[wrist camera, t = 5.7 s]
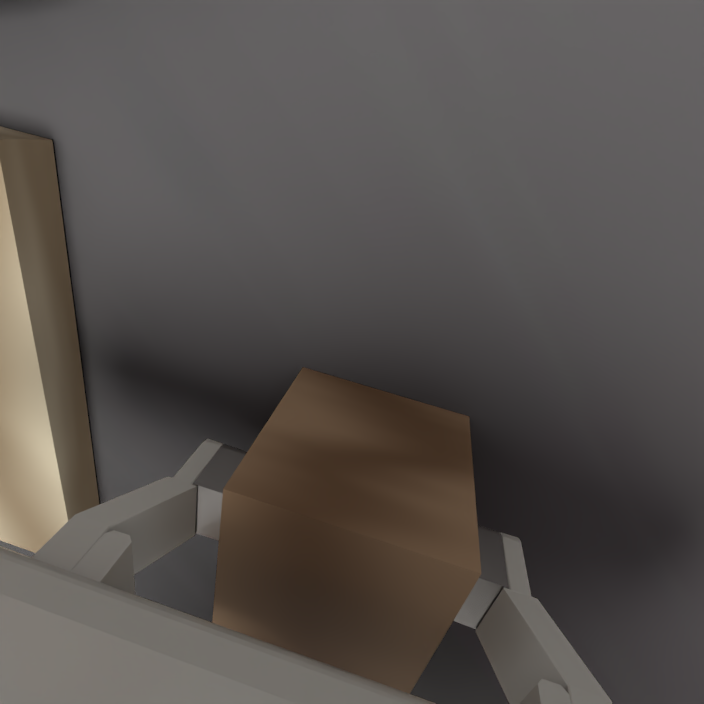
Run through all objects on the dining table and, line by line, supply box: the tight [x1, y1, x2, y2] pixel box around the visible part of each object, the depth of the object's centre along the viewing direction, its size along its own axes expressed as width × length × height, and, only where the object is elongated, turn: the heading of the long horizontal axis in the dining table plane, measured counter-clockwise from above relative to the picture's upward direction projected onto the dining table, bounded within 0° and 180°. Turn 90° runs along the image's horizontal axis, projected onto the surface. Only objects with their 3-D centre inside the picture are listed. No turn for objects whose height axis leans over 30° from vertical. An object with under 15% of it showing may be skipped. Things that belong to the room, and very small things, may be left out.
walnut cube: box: [212, 367, 481, 694], centre depth 11 cm, size 5×5×5 cm
